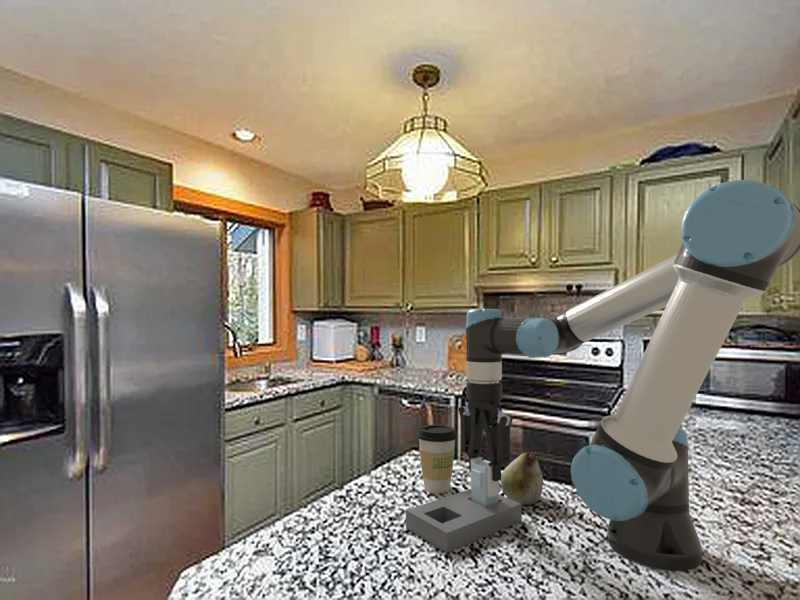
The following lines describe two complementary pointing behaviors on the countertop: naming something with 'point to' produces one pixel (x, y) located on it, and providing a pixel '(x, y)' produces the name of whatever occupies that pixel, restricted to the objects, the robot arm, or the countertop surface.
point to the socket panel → (461, 520)
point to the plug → (481, 484)
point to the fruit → (523, 479)
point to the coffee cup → (437, 456)
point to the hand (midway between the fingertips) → (484, 491)
